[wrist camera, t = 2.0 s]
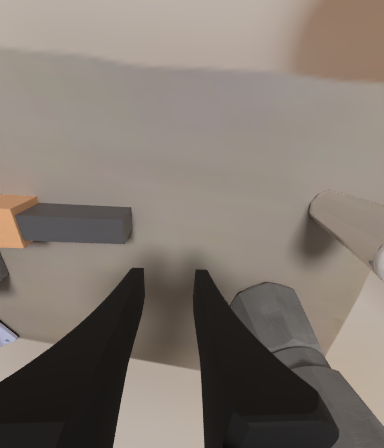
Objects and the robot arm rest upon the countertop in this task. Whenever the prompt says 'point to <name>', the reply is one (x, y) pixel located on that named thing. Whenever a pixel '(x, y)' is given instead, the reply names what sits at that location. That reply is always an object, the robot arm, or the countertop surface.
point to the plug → (60, 222)
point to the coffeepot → (306, 359)
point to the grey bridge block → (3, 269)
